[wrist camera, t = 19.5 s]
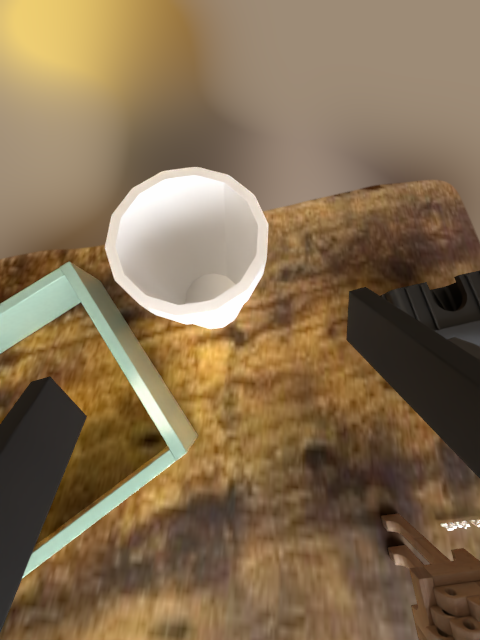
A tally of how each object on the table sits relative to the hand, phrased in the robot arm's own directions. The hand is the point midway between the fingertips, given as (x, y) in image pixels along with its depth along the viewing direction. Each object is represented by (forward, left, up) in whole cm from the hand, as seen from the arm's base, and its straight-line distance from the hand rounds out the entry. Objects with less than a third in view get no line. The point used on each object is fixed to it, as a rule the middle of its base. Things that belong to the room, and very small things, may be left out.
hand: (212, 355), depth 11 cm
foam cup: (+3, +7, -15) cm, 17 cm away
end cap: (+18, -8, -15) cm, 24 cm away
